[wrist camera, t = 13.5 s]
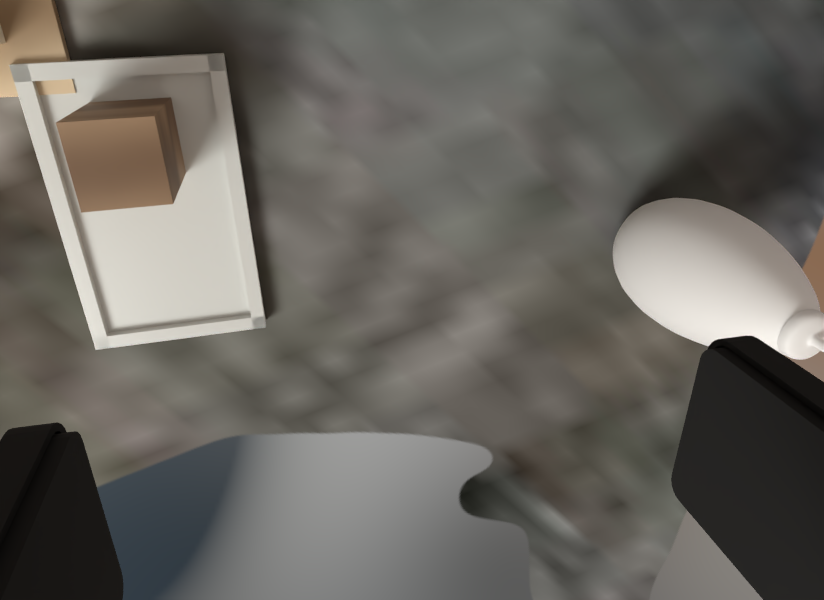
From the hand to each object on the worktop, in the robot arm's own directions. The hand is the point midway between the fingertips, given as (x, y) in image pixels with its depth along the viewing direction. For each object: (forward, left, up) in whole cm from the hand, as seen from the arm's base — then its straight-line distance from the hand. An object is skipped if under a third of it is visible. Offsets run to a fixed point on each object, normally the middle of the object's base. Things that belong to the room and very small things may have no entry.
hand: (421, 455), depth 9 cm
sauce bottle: (+9, +22, -29) cm, 38 cm away
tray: (+4, -9, -29) cm, 30 cm away
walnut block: (0, -9, -28) cm, 30 cm away
